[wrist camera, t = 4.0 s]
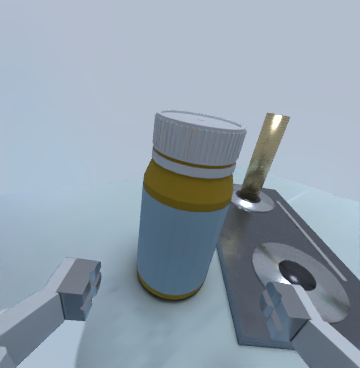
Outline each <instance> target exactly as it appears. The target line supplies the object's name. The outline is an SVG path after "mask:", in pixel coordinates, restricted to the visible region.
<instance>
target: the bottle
mask: <svg viewBox="0 0 360 368" xmlns="http://www.w3.org/2000/svg"><path fill="white" fill-rule="evenodd" d="M245 135H246V127H245V126H244V125H242V124H239V123H236V122H234V121H230V120H227V119H223V118H218V117H214V116H209V115H204V114H199V113H193V112H185V111H177V110H158V111H157V113H156V115H155V123H154V134H153V151H152V159H151V161H150V164H149V166H148V167H147V170H146V172H145V174H144V181H143V190H142V203H141V215H140V228H139V240H138V253H137V273H138V276H139V279H140V281H141V283H142V284H143V285H144V286H145V287H146V288H147V289H148V290H149V291H150V292H151V293H153V294H155V295H157V296H159V297H161V298H166V299H172V300H176V299H183V298H187V297H189V296H191V295H193V294H195V293H196V292H197V291H198V290H199V289H200V288H201V286H202V285H203V283H204V280H205V278H206V275H207V272H208V269H209V266H210V263H211V260H212V257H213V254H214V251H215V247H216V244H217V241H218V238H219V235H220V232H221V229H222V226H223V223H224V220H225V217H226V214H227V211H228V208H229V205H230V202H231V199H232V194H233V174H232V173H233V172H234V169H235V166H236V160H237V159H238V157H239V154H240V151H241V148H242V145H243V141H244V138H245Z"/></svg>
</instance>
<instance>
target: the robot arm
mask: <svg viewBox="0 0 360 368" xmlns="http://www.w3.org/2000/svg"><path fill="white" fill-rule="evenodd" d="M100 268H101V262H99V261H92V260H85V259H78V258H71V257H66V258H65V259H64V260H63V261H62V262H61V264H60V265H59V266H58V268H57V269H56V271H55V272H54V274H53V275H52V276H51V278H50V279H49V281H48V282H47V284H46V285H45V286H44V288H43V289H42V291H36V292H35V293H33V294H32V295H30V296H29V297H27V298H25V299H24V300H22V301H21V302H19V303H18V304H16V305H15V306H13V307H11V308H10V309H8V310H7V311H5V312H4V313H2V314H1V315H0V368H16V367H17V366H18V365H19V364H20V363H21V362H22V361H23V360H24V359H25V358H26V357H27V356H28V355H29V354H30V353H31V352H33V350H35V349H36V348H37V347H38V346H39V345H40V344H41V343H42V342H43V341H44V340H45V339H46V338H47V337H48V336H49V335H50V334H51V333H52V332H54V331H55V330H56V329H57V328H58V327H59V326H60V325H61V324H62V323H63V322H64V320H77V321H86V318H87V316H88V314H89V311H90V309H91V306H92V298H93V297H94V296H96V294H97V292H98V289H99V286H100V283H101V272H100V271H99V270H100ZM260 307H261V310H262V313H263V314H264V315H265V316H266V317H267V322H266V324H267V327H268V330H269V332H270V335H271V338H272V340H278V341H286V342H290V344H291V345H292V346H293V348H294V349H295V350H296V351H297V353H298V354H299V355H300V356H301V358H302V359H303V360H304V362H305V363H306V364H307V365H308V367H309V368H360V351H359V350H358V349H357V348H356V347H355V346H354V345H353V344H351V343H350V342H349V341H348V340H347V339H346V338H345V337H343V336H342V335H341V334H340V333H339V332H338V331H337V330H335V329H334V328H333V327H332V326H331V325H330V324H329V323H327V322H324V321H323V320H322V318H321V316H320V315H319V313H318V312H317V310H316V308H315V307H314V305H313V303H312V302H311V300H310V298H309V297H308V295H307V294H306V292H305V290H304V289H303V287H301V286H300V285H294V284H288V283H278V282H268V283H267V284H266V290H265V291H263V292H262V293H261V295H260Z"/></svg>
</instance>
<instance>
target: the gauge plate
mask: <svg viewBox="0 0 360 368" xmlns="http://www.w3.org/2000/svg"><path fill="white" fill-rule="evenodd" d="M289 118H290V117H287V116H283V115H278V114H273V113H267V115H266V117H265V120H264V123H263V126H262V129H261V132H260V135H259V138H258V141H257V143H256V147H255V149H254V152H253V155H252V158H251V161H250V164H249V167H248V170H247V172H246V175H245V178H244V181H243V184H242V185H239V184H233V194H232V199H231V202H230V205H229V208H228V211H227V214H226V217H225V220H224V223H223V226H222V229H221V232H220V235H219V238H218V241H217V244H216V246H217V250H218V255H219V259H220V264H221V268H222V273H223V277H224V281H225V286H226V290H227V295H228V299H229V304H230V308H231V313H232V317H233V321H234V326H235V330H236V335H237V339H238V344H239V345H250V346H261V347H272V348H283V349H294V348H293V346H292V345H291V344H290V342H286V341H278V340H272V338H271V335H270V332H269V330H268V327H267V324H266V322H267V317H266V316H265V315H264V314H263V313H262V310H261V307H260V295H261V293H262V292H263V291H265V290H266V284H267V283H268V282H278V283H288V284H294V285H300V286H301V287H303V289H304V290H305V292H306V294H307V295H308V297H309V298H310V300H311V302H312V303H313V305H314V307H315V308H316V310H317V312H318V313H319V315H320V316H321V318H322V320H323V321H324V322H327V323H329V324H330V325H331V326H332V327H333V328H334V329H335V330H337V331H338V332H339V333H340V334H341V335H342V336H343V337H345V338H346V339H347V340H348V341H349V342H350V343H351V344H353V345H354V346H355V347H356V348H357V349H358V350H359V351H360V281H359V279H358V278H357V277H356V276H355V275H354V274H353V273H352V272H351V271H350V270H349V269H348V268H347V267H346V265H345V264H344V263H343V262H342V261H341V260H340V259H339V258H338V257H337V256H336V255H335V254H334V253H333V251H332V250H331V249H330V248H329V247H328V246H327V245H326V244H325V243H324V242H323V241H322V240H321V239H320V238H319V236H318V235H317V234H316V233H315V232H314V231H313V230H312V229H311V228H310V227H309V226H308V225H307V224H306V222H305V221H304V220H303V219H302V218H301V217H300V216H299V215H298V214H297V213H296V212H295V211H294V210H293V208H292V207H291V206H290V205H289V204H288V203H287V202H286V201H285V200H284V199H283V198H282V197H281V196H280V195H279V193H278V192H277V191H276V190H272V189H266V188H262V186H263V184H264V181H265V179H266V176H267V174H268V171H269V169H270V166H271V164H272V161H273V159H274V156H275V154H276V151H277V149H278V146H279V144H280V141H281V139H282V136H283V134H284V131H285V129H286V126H287V124H288V121H289ZM294 350H295V349H294Z"/></svg>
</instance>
